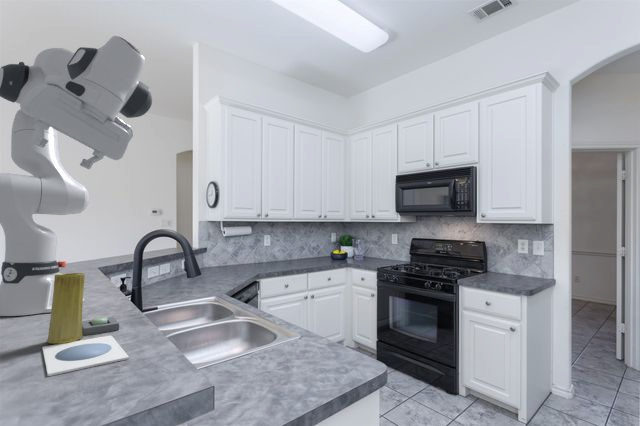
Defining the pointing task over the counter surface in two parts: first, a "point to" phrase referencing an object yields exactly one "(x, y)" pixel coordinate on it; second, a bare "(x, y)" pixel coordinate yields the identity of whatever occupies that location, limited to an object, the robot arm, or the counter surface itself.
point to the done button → (99, 321)
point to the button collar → (99, 327)
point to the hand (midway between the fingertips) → (62, 157)
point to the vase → (66, 308)
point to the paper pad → (82, 354)
